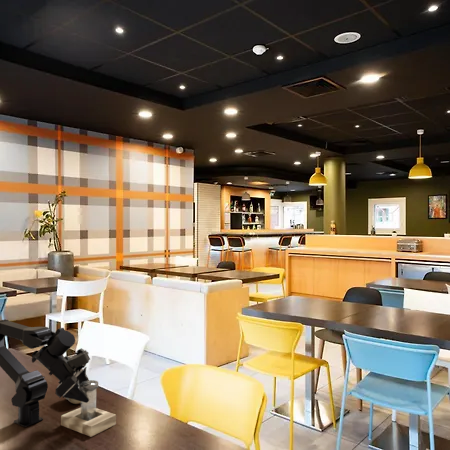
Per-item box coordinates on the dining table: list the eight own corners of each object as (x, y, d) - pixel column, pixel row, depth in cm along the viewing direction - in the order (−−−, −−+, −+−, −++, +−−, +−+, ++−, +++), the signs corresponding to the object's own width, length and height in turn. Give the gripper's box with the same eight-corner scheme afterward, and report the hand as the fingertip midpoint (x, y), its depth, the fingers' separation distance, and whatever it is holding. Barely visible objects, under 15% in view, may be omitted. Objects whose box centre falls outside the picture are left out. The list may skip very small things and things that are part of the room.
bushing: (74, 425, 133) (75, 384, 133) (89, 419, 137) (90, 379, 138) (86, 430, 129) (87, 387, 130) (101, 423, 134) (102, 382, 135)
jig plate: (61, 425, 133) (61, 415, 133) (86, 413, 141) (86, 404, 141) (90, 436, 126) (91, 426, 126) (116, 424, 134) (116, 414, 134)
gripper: (67, 351, 124) (105, 387, 126) (80, 336, 143) (112, 367, 144) (39, 379, 123) (77, 415, 124) (55, 360, 141) (88, 392, 143)
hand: (90, 395), depth 134 cm, fingers open, 9 cm apart
